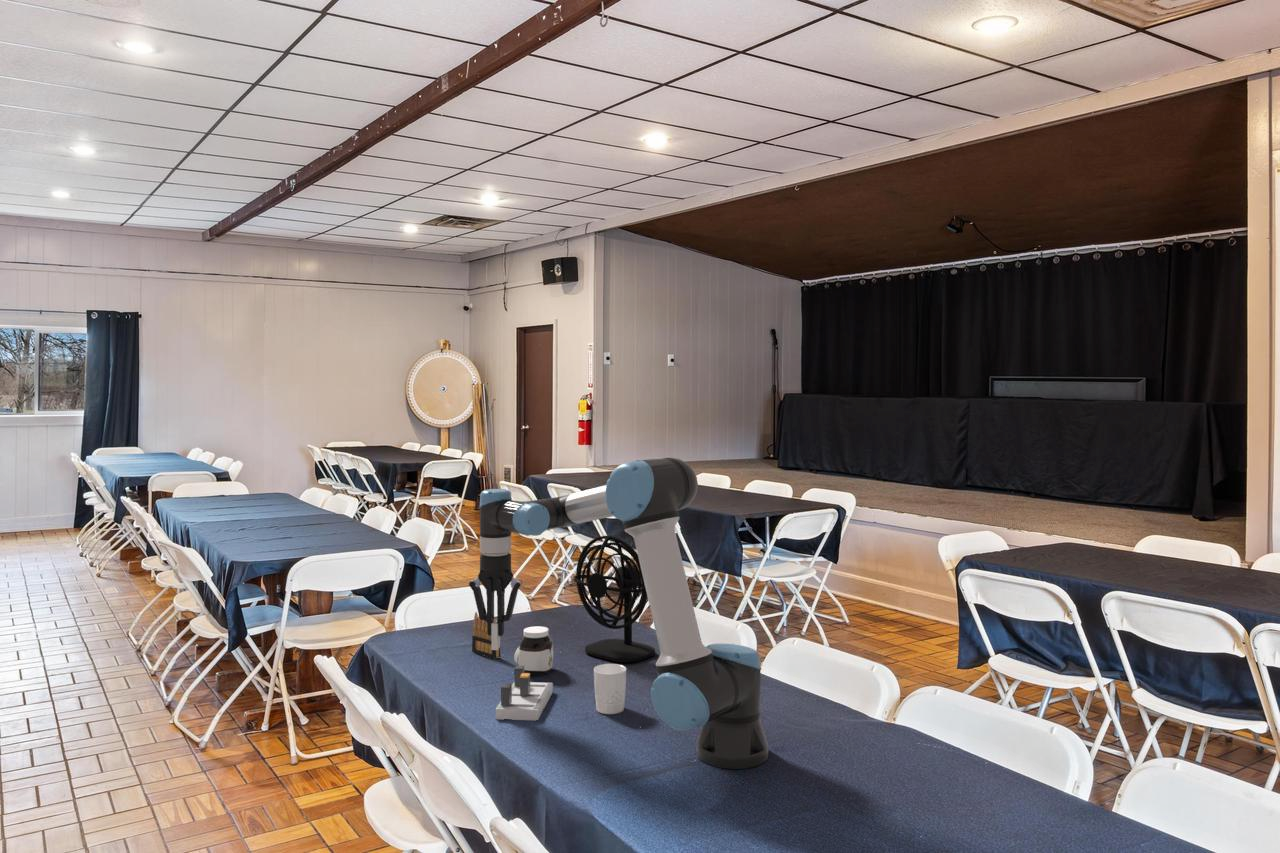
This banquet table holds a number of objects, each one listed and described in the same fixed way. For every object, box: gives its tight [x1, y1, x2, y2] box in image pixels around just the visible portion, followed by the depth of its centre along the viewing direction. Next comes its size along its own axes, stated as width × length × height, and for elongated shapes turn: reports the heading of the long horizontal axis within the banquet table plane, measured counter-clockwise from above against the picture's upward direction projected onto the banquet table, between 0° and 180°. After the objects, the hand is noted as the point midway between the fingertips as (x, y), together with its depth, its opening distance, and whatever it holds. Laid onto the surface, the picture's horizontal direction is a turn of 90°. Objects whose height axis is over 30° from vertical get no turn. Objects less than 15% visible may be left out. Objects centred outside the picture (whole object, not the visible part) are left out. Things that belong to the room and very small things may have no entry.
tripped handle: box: [520, 673, 531, 696], centre depth 220 cm, size 2×2×5 cm
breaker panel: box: [495, 681, 554, 721], centre depth 220 cm, size 19×10×3 cm, turn 175°
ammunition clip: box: [471, 611, 501, 660], centre depth 261 cm, size 11×2×12 cm, turn 49°
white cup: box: [593, 663, 627, 715], centre depth 217 cm, size 8×8×10 cm
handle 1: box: [500, 683, 513, 706], centre depth 213 cm, size 2×2×4 cm
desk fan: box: [573, 534, 656, 663], centre depth 261 cm, size 27×18×35 cm, turn 50°
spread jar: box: [513, 626, 554, 677], centre depth 247 cm, size 12×11×12 cm
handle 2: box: [513, 664, 524, 686], centre depth 227 cm, size 2×2×4 cm
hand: (495, 648), depth 220 cm, fingers closed
